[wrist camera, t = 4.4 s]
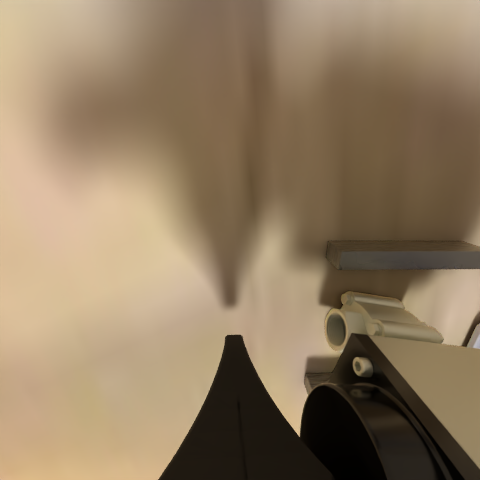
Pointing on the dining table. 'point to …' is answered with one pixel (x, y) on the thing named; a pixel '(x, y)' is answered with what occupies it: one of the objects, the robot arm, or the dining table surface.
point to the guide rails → (396, 264)
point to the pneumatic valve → (394, 398)
